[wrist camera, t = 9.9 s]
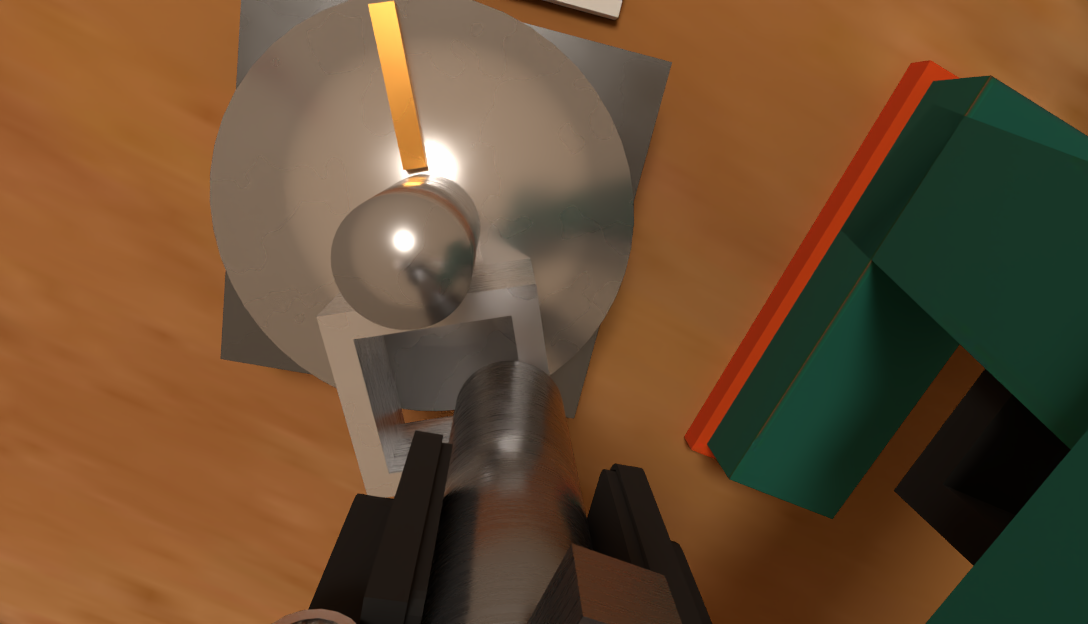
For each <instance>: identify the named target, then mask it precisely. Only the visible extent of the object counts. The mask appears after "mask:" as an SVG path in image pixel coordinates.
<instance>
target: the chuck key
mask: <svg viewBox="0 0 1088 624" xmlns="http://www.w3.org/2000/svg"><path fill="white" fill-rule="evenodd" d="M448 443H449V444H453V447H452V453H451V458H450V464H449V469H448V475H447V481H446V486H445V492H444V498H443V503H442V509H441V515H440V520H439V526H438V531H437V537H436V543H435V548H434V554H433V560H432V565H431V571H430V577H429V582H428V588H427V593H426V599H425V604H424V609H423V614H422V619H421V624H682V622H681V620H680V617H679V614H678V611H677V608H676V606H675V603H674V600H673V597H672V594H671V592H670V589H669V586H668V583H667V580H666V578H665V576H664V575H662V574H659V573H656V572H653V571H650V570H647V569H644V568H641V567H639V566H636V565H633V564H630V563H627V562H624V561H621V560H618V559H616V558H613V557H610V556H607V555H604V554H601V553H598V552H595V551H593V546H592V542H591V537H590V532H589V527H588V522H587V517H586V513H585V508H584V503H583V498H582V493H581V488H580V483H579V479H578V474H577V469H576V464H575V459H574V454H573V450H572V445H571V440H570V435H569V430H568V425H567V420H566V416H565V411H564V406H563V401H562V397H561V394H560V391H559V389H558V387H557V385H556V384H555V382H554V381H553V380H552V379H551V378H550V376H549V375H547V374H546V373H545V372H544V371H542V370H541V369H539V368H537V367H535V366H533V365H531V364H528V363H525V362H520V361H500V362H495V363H492V364H489V365H487V366H484V367H482V368H481V369H479V370H477V371H476V372H475V373H473V374H472V375H471V376H470V377H469V378H468V379H467V380H466V382H465V383H464V384H463V386H462V388H461V389H460V391H459V394H458V397H457V401H456V406H455V411H454V416H453V421H452V426H451V431H450V436H449V442H448Z"/></svg>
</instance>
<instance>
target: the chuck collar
mask: <svg viewBox="0 0 1088 624" xmlns="http://www.w3.org/2000/svg"><path fill="white" fill-rule="evenodd" d="M210 206H211V214H212V222H213V230H214V233H215V237H216V241H217V245H218V249H219V252H220V256H221V259H222V261H223V264H224V266H225V269H226V271H227V274H228V276H229V279H230V281H231V283H232V285H233V287H234V289H235V290H236V292H237V294H238V296H239V298H240V299H241V301H242V303H243V305H244V307H245V308H246V309H247V311H248V312H249V313H250V315H251V316H252V318H253V319H254V320H255V322H256V323H257V324H258V326H259V327H260V328H261V330H262V331H263V332H264V333H265V334H266V335H267V336H268V337H269V338H270V339H271V340H272V341H273V342H274V344H275V345H276V346H277V347H278V348H279V349H280V350H282V351H283V352H284V353H285V354H286V355H287V356H289V357H290V358H291V359H292V360H293V361H294V362H296V363H297V364H298V365H299V366H301V367H302V368H304V369H305V370H307V371H308V372H310V373H311V374H313V375H314V376H316V377H317V378H319V379H320V380H322V381H324V382H326V383H328V384H330V385H332V386H334V387H335V388H337V391H338V394H339V398H340V401H341V405H342V408H343V412H344V415H345V419H346V422H347V426H348V429H349V433H350V436H351V440H352V443H353V447H354V450H355V454H356V457H357V461H358V464H359V468H360V471H361V475H362V478H363V482H364V485H365V489H366V492H367V495H371V496H377V497H384V498H385V497H392V496H395V494H396V491H397V488H398V485H399V481H400V478H401V475H402V472H403V468H404V465H405V462H406V459H407V455H408V452H409V449H410V446H411V442H412V439H413V436H414V433H415V430H417V431H423V432H429V433H435V434H441V435H443V440H442V442H443V443H448V442H449V436H450V431H451V426H452V421H453V416H449V417H442V418H436V419H429V420H423V421H417V422H410V423H405V421H404V417H403V413H402V409H410V410H418V411H447V410H455V406H456V401H457V397H458V394H459V391H460V389H461V388H462V386H463V384H464V383H465V382H466V380H467V379H468V378H469V377H470V376H471V375H472V374H473V373H475V372H476V371H477V370H479V369H481V368H482V367H484V366H487V365H489V364H492V363H495V362H500V361H520V362H525V363H528V364H531V365H533V366H535V367H537V368H539V369H541V370H542V371H544V372H545V373H546V374H547V375H551V374H552V373H554V372H555V371H556V370H558V369H559V368H560V367H561V366H562V365H564V364H565V363H566V362H567V361H568V360H570V359H571V358H572V357H573V356H574V355H575V354H576V353H577V352H578V351H579V350H580V349H581V348H582V346H583V345H584V344H585V343H586V342H587V341H588V340H589V339H590V338H591V336H592V335H593V333H594V332H595V331H596V329H597V328H598V326H599V325H600V324H601V322H602V321H603V319H604V318H605V316H606V314H607V312H608V310H609V309H610V307H611V305H612V303H613V301H614V299H615V298H616V295H617V293H618V290H619V287H620V285H621V282H622V280H623V277H624V274H625V271H626V267H627V263H628V259H629V254H630V250H631V243H632V235H633V226H634V203H633V190H632V183H631V176H630V170H629V166H628V162H627V159H626V155H625V152H624V148H623V144H622V141H621V139H620V137H619V134H618V132H617V130H616V127H615V125H614V123H613V120H612V118H611V116H610V114H609V112H608V110H607V109H606V107H605V105H604V104H603V102H602V100H601V99H600V97H599V95H598V94H597V92H596V90H595V89H594V88H593V86H592V85H591V84H590V83H589V81H588V80H587V79H586V78H585V76H584V75H583V74H582V72H581V71H580V70H579V69H578V67H577V66H576V65H575V64H574V63H573V62H572V61H571V60H570V59H569V58H568V57H567V56H565V55H564V54H563V53H562V52H561V51H560V50H559V49H558V48H557V47H556V46H555V45H554V44H553V43H551V42H550V41H548V40H547V39H546V38H544V37H543V36H542V35H540V34H539V33H538V32H536V31H535V30H534V29H532V28H531V27H529V26H528V25H526V24H524V23H522V22H520V21H518V20H517V19H515V18H513V17H511V16H509V15H508V14H506V13H504V12H502V11H499V10H496V9H494V8H491V7H489V6H486V5H483V4H481V3H478V2H476V1H472V0H349V1H346V2H344V3H341V4H338V5H336V6H333V7H330V8H328V9H325V10H323V11H321V12H319V13H317V14H315V15H314V16H312V17H310V18H308V19H307V20H305V21H303V22H301V23H300V24H298V25H296V26H295V27H293V28H292V29H291V30H290V31H288V32H287V33H286V34H285V35H283V36H282V37H281V38H280V39H278V40H277V41H276V42H274V43H273V44H272V45H271V46H270V47H269V48H268V49H267V51H266V52H265V53H264V54H263V55H262V56H261V57H260V58H259V59H258V60H257V61H256V62H255V63H254V65H253V66H252V67H251V68H250V70H249V71H248V73H247V74H246V76H245V77H244V79H243V80H242V82H241V83H240V85H239V86H238V88H237V89H236V91H235V93H234V95H233V97H232V99H231V101H230V103H229V105H228V107H227V110H226V112H225V114H224V116H223V119H222V122H221V125H220V129H219V132H218V135H217V138H216V142H215V145H214V152H213V158H212V165H211V172H210ZM401 408H402V409H401Z"/></svg>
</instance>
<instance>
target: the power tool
mask: <svg viewBox="0 0 1088 624" xmlns="http://www.w3.org/2000/svg"><path fill="white" fill-rule="evenodd" d="M959 344H960V345H961V346H962V347H963V348H964V349H966V350H967V351H968V352H969V353H970V354H971V355H972V356H973V357H974V358H975V359H976V360H977V361H978V362H979V363H980V364H981V365H982V366H983V367H984V368H985V370H984V371H983V372H982V374H981V375H980V376H979V378H978V379H977V380H976V382H975V383H974V384H973V386H972V387H971V388H970V390H969V391H968V392H967V394H966V395H965V396H964V398H963V399H962V400H961V402H960V403H959V404H958V406H957V407H956V408H955V410H954V411H953V412H952V414H951V415H950V416H949V418H948V419H947V420H946V422H945V423H944V424H943V426H942V427H941V428H940V430H939V431H938V432H937V434H936V435H935V436H934V438H933V439H932V440H931V442H930V443H929V444H928V446H927V447H926V448H925V450H924V451H923V452H922V454H921V455H920V456H919V458H918V459H917V460H916V462H915V463H914V464H913V466H912V467H911V468H910V470H909V471H908V472H907V474H906V475H905V476H904V478H903V479H902V480H901V482H900V483H899V484H898V486H897V487H896V488H895V490H894V491H895V492H896V493H897V494H898V495H899V496H900V497H901V498H902V499H903V500H904V501H905V502H906V503H907V504H909V505H910V506H911V507H912V508H913V509H914V510H915V511H916V512H917V513H918V514H919V515H920V516H921V517H922V518H923V519H924V520H926V521H927V522H928V523H929V524H930V525H931V526H932V527H933V528H934V529H935V530H936V531H937V532H938V533H939V534H940V535H941V536H943V537H944V538H945V539H946V540H947V541H948V542H949V543H950V544H951V545H952V546H953V547H954V548H955V549H956V550H957V551H959V552H960V553H961V554H962V555H963V556H964V557H965V558H966V559H967V560H968V561H969V562H970V563H971V564H972V565H973V567H972V569H971V570H970V571H969V572H968V573H967V575H966V576H965V577H964V578H963V579H962V581H961V582H960V583H959V584H958V585H957V587H956V588H955V589H954V590H953V591H952V593H951V594H950V595H949V596H948V597H947V599H946V600H945V601H944V602H943V603H942V605H941V606H940V607H939V608H938V609H937V611H936V612H935V613H934V614H933V615H932V616H931V618H930V619H929V620H928V621H927V622H926V624H1088V136H1087V135H1085V134H1083V133H1082V132H1080V131H1079V130H1077V129H1075V128H1074V127H1072V126H1071V125H1069V124H1067V123H1066V122H1064V121H1063V120H1061V119H1059V118H1058V117H1056V116H1055V115H1053V114H1051V113H1050V112H1048V111H1047V110H1045V109H1044V108H1042V107H1040V106H1039V105H1037V104H1036V103H1034V102H1032V101H1031V100H1029V99H1028V98H1026V97H1024V96H1023V95H1021V94H1020V93H1018V92H1016V91H1015V90H1013V89H1012V88H1010V87H1008V86H1007V85H1005V84H1004V83H1002V82H1000V81H999V80H997V79H996V78H994V77H993V76H981V77H970V78H958V77H957V76H955V75H954V74H952V73H950V72H949V71H947V70H945V69H944V68H942V67H941V66H939V65H937V64H936V63H934V62H933V61H931V60H930V61H923V62H916V63H911V64H910V66H909V67H908V69H907V71H906V72H905V74H904V76H903V77H902V79H901V81H900V82H899V84H898V86H897V87H896V89H895V91H894V92H893V94H892V95H891V97H890V99H889V100H888V102H887V104H886V105H885V107H884V109H883V110H882V112H881V114H880V115H879V117H878V119H877V120H876V122H875V123H874V125H873V127H872V128H871V130H870V132H869V133H868V135H867V137H866V138H865V140H864V142H863V143H862V145H861V147H860V148H859V150H858V151H857V153H856V155H855V156H854V158H853V160H852V161H851V163H850V165H849V166H848V168H847V170H846V171H845V173H844V175H843V176H842V178H841V179H840V181H839V183H838V184H837V186H836V188H835V189H834V191H833V193H832V194H831V196H830V198H829V199H828V201H827V203H826V204H825V206H824V207H823V209H822V211H821V212H820V214H819V216H818V217H817V219H816V221H815V222H814V224H813V226H812V227H811V229H810V231H809V232H808V234H807V235H806V237H805V239H804V240H803V242H802V244H801V245H800V247H799V249H798V250H797V252H796V254H795V255H794V257H793V259H792V260H791V262H790V263H789V265H788V267H787V268H786V270H785V272H784V273H783V275H782V277H781V278H780V280H779V282H778V283H777V285H776V287H775V288H774V290H773V291H772V293H771V295H770V296H769V298H768V300H767V301H766V303H765V305H764V306H763V308H762V310H761V311H760V313H759V315H758V316H757V318H756V319H755V321H754V323H753V324H752V326H751V328H750V329H749V331H748V333H747V334H746V336H745V338H744V339H743V341H742V343H741V344H740V346H739V347H738V349H737V351H736V352H735V354H734V356H733V357H732V359H731V361H730V362H729V364H728V366H727V367H726V369H725V371H724V372H723V374H722V375H721V377H720V379H719V380H718V382H717V384H716V385H715V387H714V389H713V390H712V392H711V394H710V395H709V397H708V399H707V400H706V402H705V403H704V405H703V407H702V408H701V410H700V412H699V413H698V415H697V417H696V418H695V420H694V422H693V423H692V425H691V427H690V428H689V430H688V431H687V433H686V435H685V436H684V438H685V440H686V442H687V443H688V445H689V447H690V448H691V450H694V451H696V452H699V453H701V454H704V455H706V456H709V457H711V458H714V459H716V460H717V461H718V462H719V464H720V466H721V467H722V469H723V470H724V472H725V473H726V475H727V477H728V478H729V479H730V480H733V481H735V482H738V483H740V484H743V485H746V486H748V487H751V488H753V489H756V490H758V491H761V492H764V493H766V494H769V495H771V496H774V497H777V498H779V499H782V500H784V501H787V502H790V503H792V504H795V505H797V506H800V507H802V508H805V509H808V510H810V511H813V512H815V513H818V514H821V515H823V516H826V517H828V518H831V519H833V518H834V516H835V515H836V514H837V512H838V511H839V509H840V508H841V507H842V505H843V504H844V503H845V501H846V500H847V498H848V497H849V496H850V494H851V493H852V492H853V490H854V489H855V487H856V486H857V485H858V483H859V482H860V481H861V479H862V478H863V476H864V475H865V474H866V472H867V471H868V470H869V468H870V467H871V465H872V464H873V463H874V461H875V460H876V459H877V457H878V456H879V454H880V453H881V452H882V450H883V449H884V448H885V446H886V445H887V443H888V442H889V441H890V439H891V438H892V437H893V435H894V434H895V432H896V431H897V430H898V428H899V427H900V426H901V424H902V423H903V421H904V420H905V419H906V417H907V416H908V415H909V413H910V412H911V410H912V409H913V408H914V406H915V405H916V404H917V402H918V401H919V399H920V398H921V397H922V395H923V394H924V393H925V391H926V390H927V388H928V387H929V386H930V384H931V383H932V382H933V380H934V379H935V377H936V376H937V375H938V373H939V372H940V370H941V369H942V368H943V366H944V365H945V364H946V362H947V361H948V359H949V358H950V357H951V355H952V354H953V353H954V351H955V350H956V348H957V347H958V346H959Z"/></svg>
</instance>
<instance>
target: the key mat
mask: <svg viewBox="0 0 1088 624" xmlns="http://www.w3.org/2000/svg"><path fill="white" fill-rule="evenodd" d="M543 1H547V2H550V3H554V4H558V5H561V6H565V7H569V8H572V9H576V10H580V11H583V12H587V13H591V14H594V15H598V16H601V17H605V18H609V19H612V20H616V19H617V18H618V16H619V12H620V8H621V4H622V0H543Z"/></svg>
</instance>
